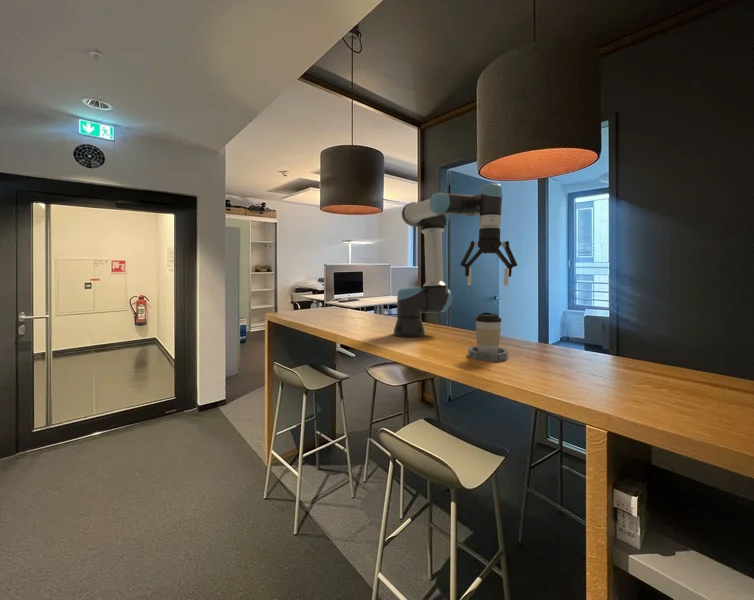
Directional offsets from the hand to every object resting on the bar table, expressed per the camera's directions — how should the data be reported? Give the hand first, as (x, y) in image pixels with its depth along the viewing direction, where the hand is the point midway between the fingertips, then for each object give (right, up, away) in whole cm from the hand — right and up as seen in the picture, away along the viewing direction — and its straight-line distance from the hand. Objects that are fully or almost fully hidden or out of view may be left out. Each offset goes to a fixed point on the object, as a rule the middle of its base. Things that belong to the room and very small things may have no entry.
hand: (487, 285), depth 131 cm
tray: (-1, -26, -3) cm, 26 cm away
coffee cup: (-1, -26, -3) cm, 26 cm away
